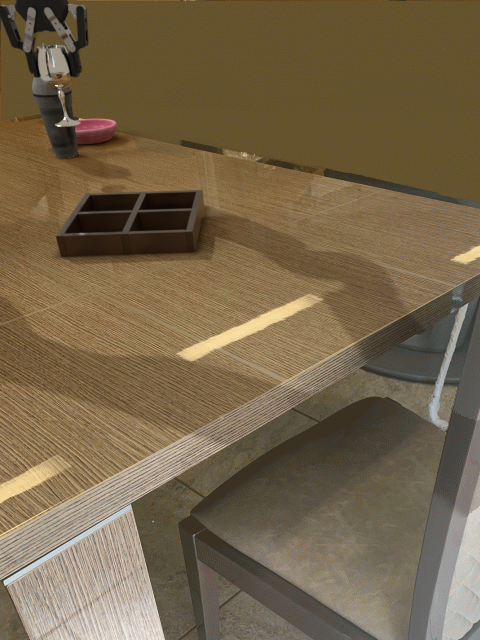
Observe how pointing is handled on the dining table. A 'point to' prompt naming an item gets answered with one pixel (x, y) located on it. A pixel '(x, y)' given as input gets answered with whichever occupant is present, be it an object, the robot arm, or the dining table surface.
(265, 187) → the dining table surface
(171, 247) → the tray
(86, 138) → the pink round shallow bowl
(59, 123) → the wineglass
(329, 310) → the dining table surface
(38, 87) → the beverage cup
